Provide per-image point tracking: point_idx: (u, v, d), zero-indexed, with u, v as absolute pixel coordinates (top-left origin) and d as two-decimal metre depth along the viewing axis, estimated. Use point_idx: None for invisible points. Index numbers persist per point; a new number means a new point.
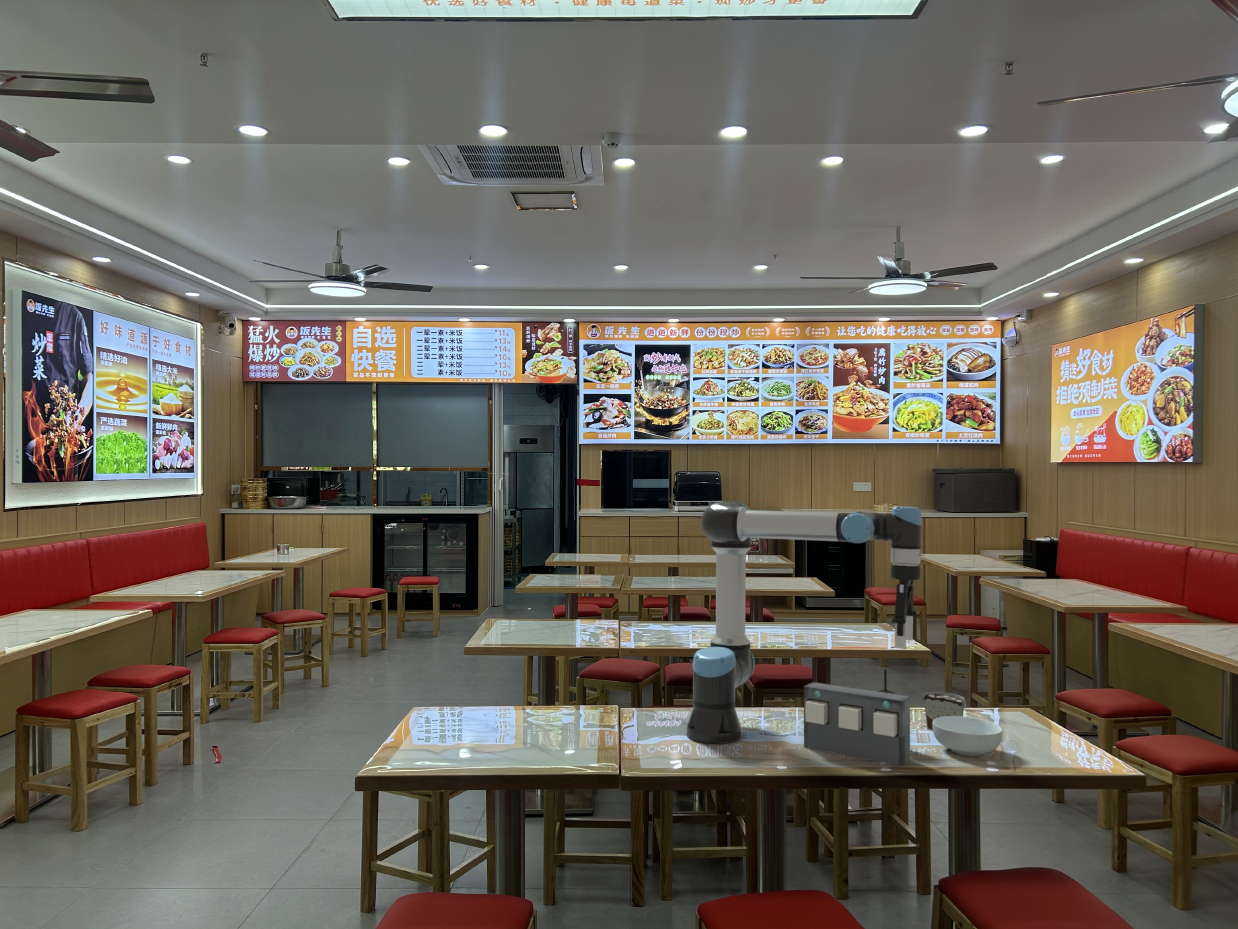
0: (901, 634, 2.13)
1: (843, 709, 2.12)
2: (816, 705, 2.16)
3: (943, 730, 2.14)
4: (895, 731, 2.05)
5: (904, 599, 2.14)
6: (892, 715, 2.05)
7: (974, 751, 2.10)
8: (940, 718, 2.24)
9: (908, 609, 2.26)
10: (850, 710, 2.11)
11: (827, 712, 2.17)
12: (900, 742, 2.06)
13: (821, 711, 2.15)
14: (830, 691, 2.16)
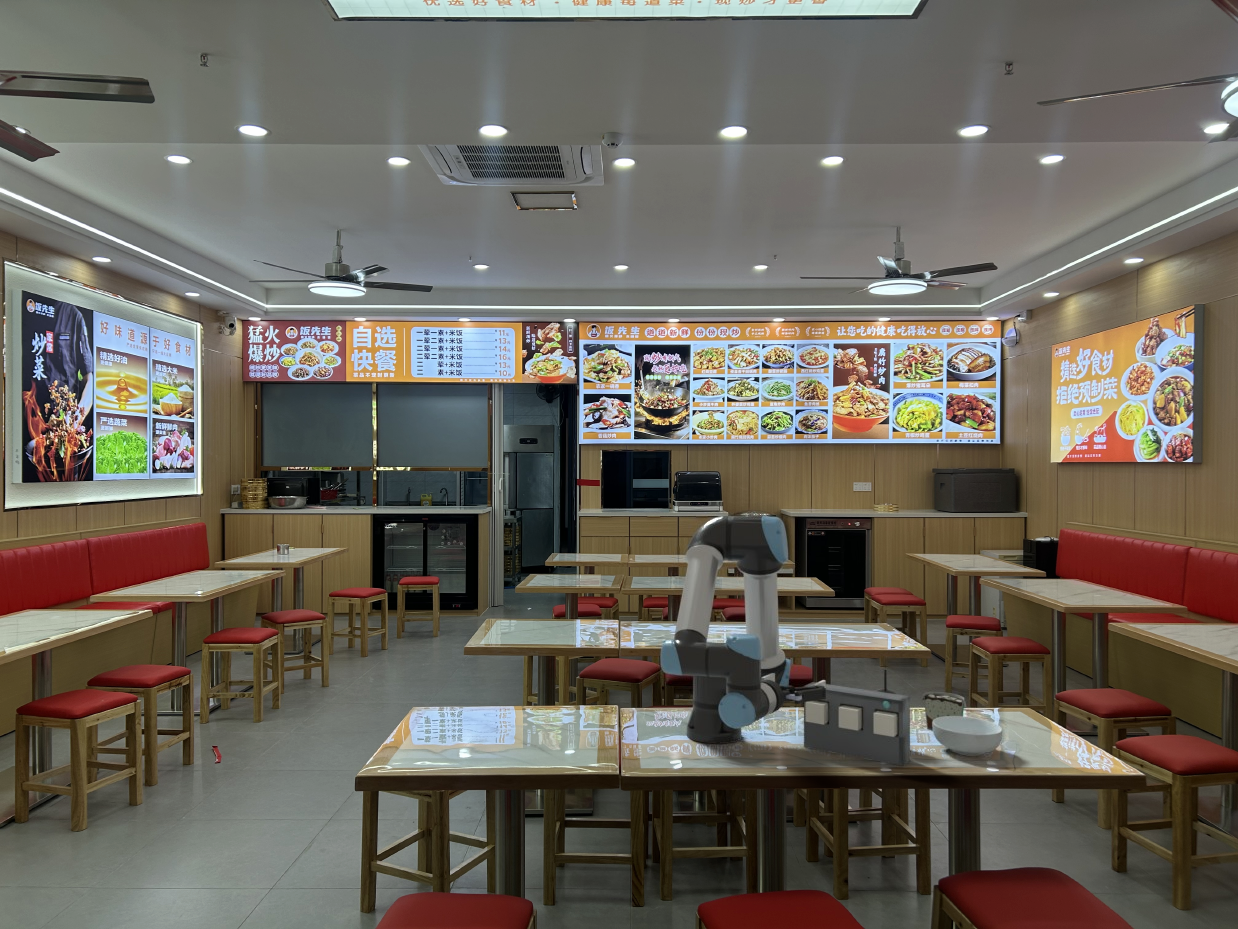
0: None
1: (843, 709, 2.12)
2: (816, 705, 2.16)
3: (943, 730, 2.14)
4: (895, 731, 2.05)
5: None
6: (892, 715, 2.05)
7: (974, 751, 2.10)
8: (940, 718, 2.24)
9: None
10: (850, 710, 2.11)
11: (827, 712, 2.17)
12: (900, 742, 2.06)
13: (821, 711, 2.15)
14: (830, 691, 2.16)
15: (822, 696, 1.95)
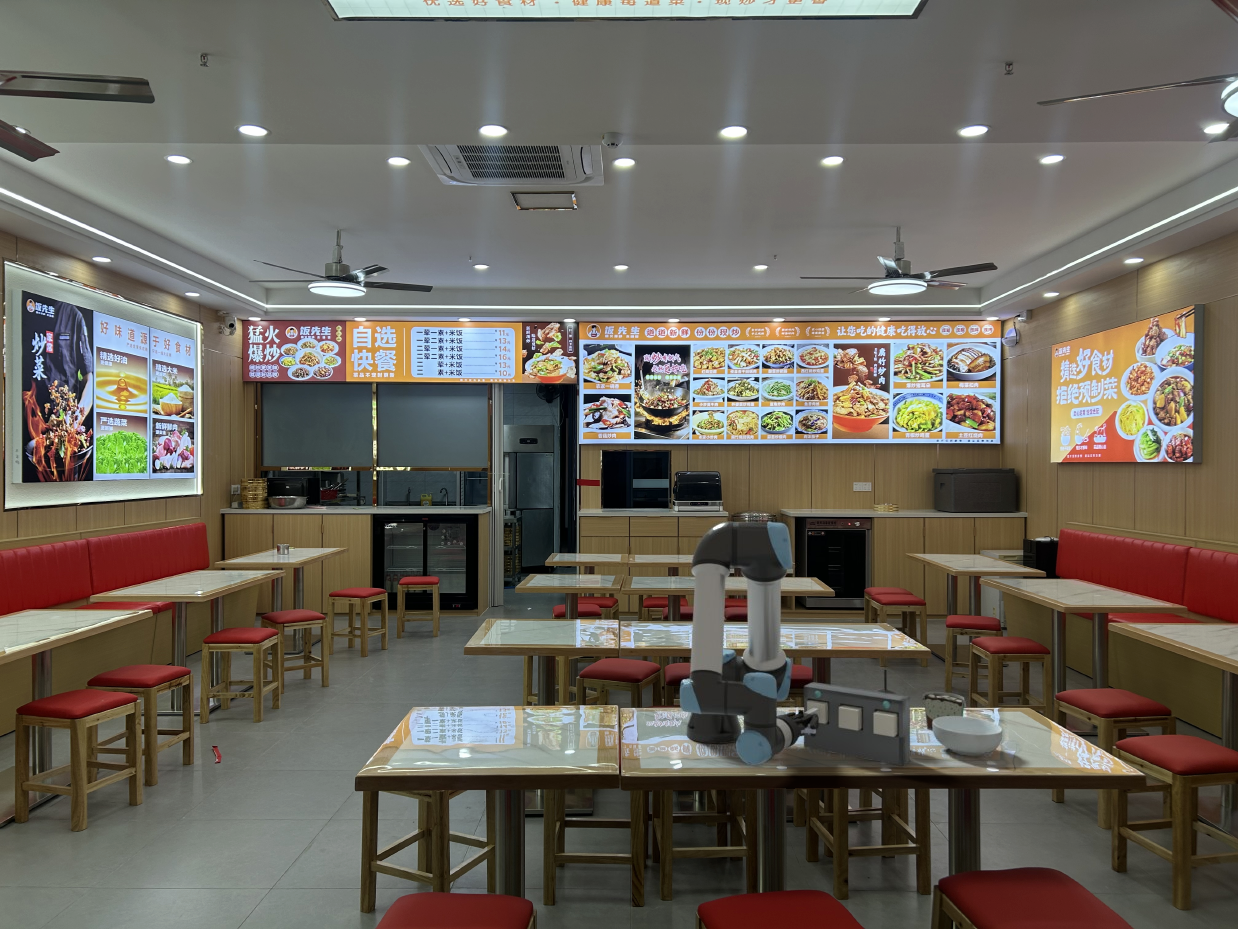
0: None
1: (843, 709, 2.12)
2: (818, 704, 2.17)
3: (943, 730, 2.14)
4: (895, 731, 2.05)
5: None
6: (892, 715, 2.05)
7: (974, 751, 2.10)
8: (940, 718, 2.24)
9: None
10: (850, 710, 2.11)
11: (828, 711, 2.17)
12: (900, 742, 2.06)
13: (823, 710, 2.16)
14: (830, 691, 2.16)
15: (818, 724, 2.07)
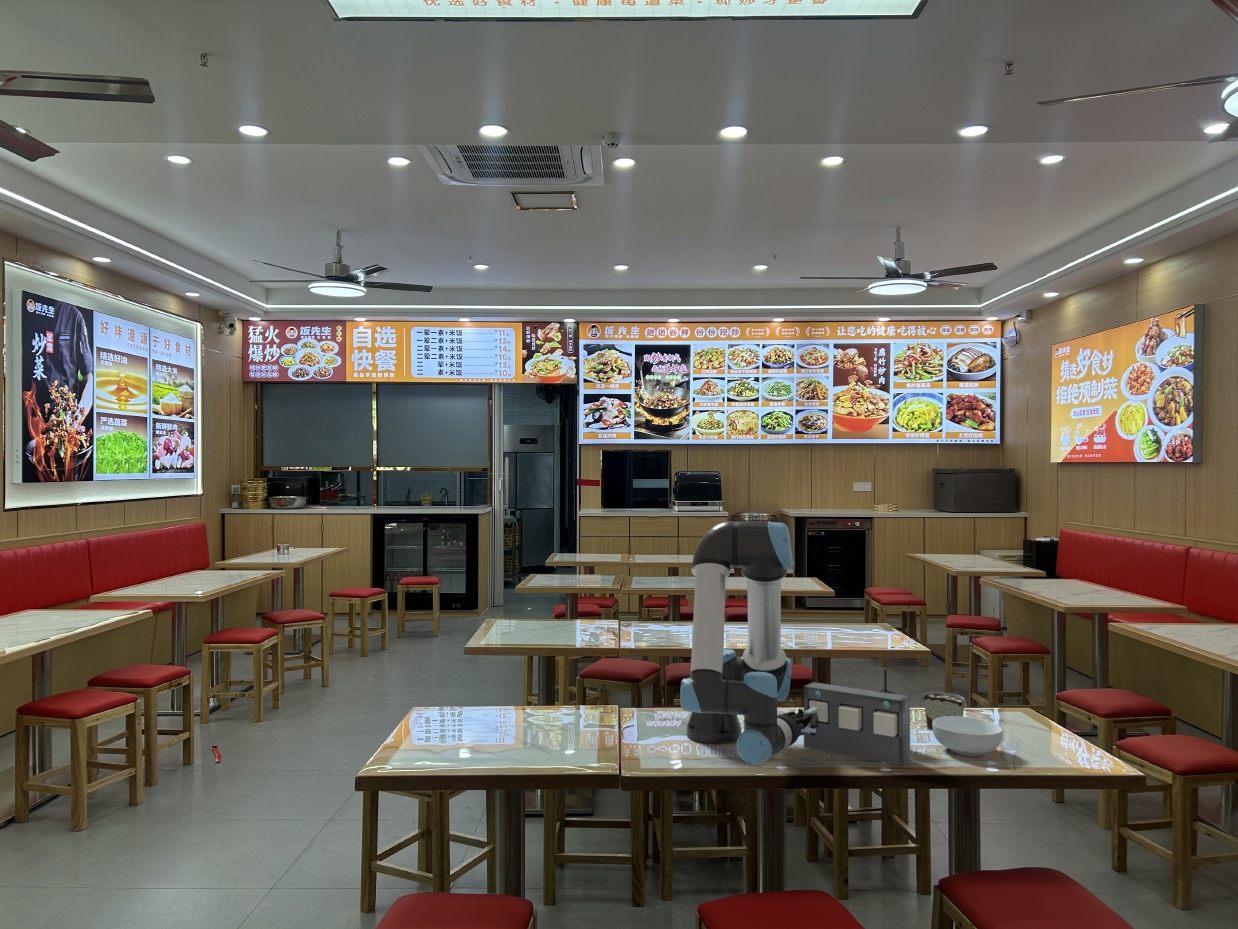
0: None
1: (843, 709, 2.12)
2: (820, 703, 2.18)
3: (943, 730, 2.14)
4: (895, 731, 2.05)
5: None
6: (892, 715, 2.05)
7: (974, 751, 2.10)
8: (940, 718, 2.24)
9: None
10: (850, 710, 2.11)
11: None
12: (900, 742, 2.06)
13: (825, 709, 2.17)
14: (830, 691, 2.16)
15: (817, 723, 2.07)
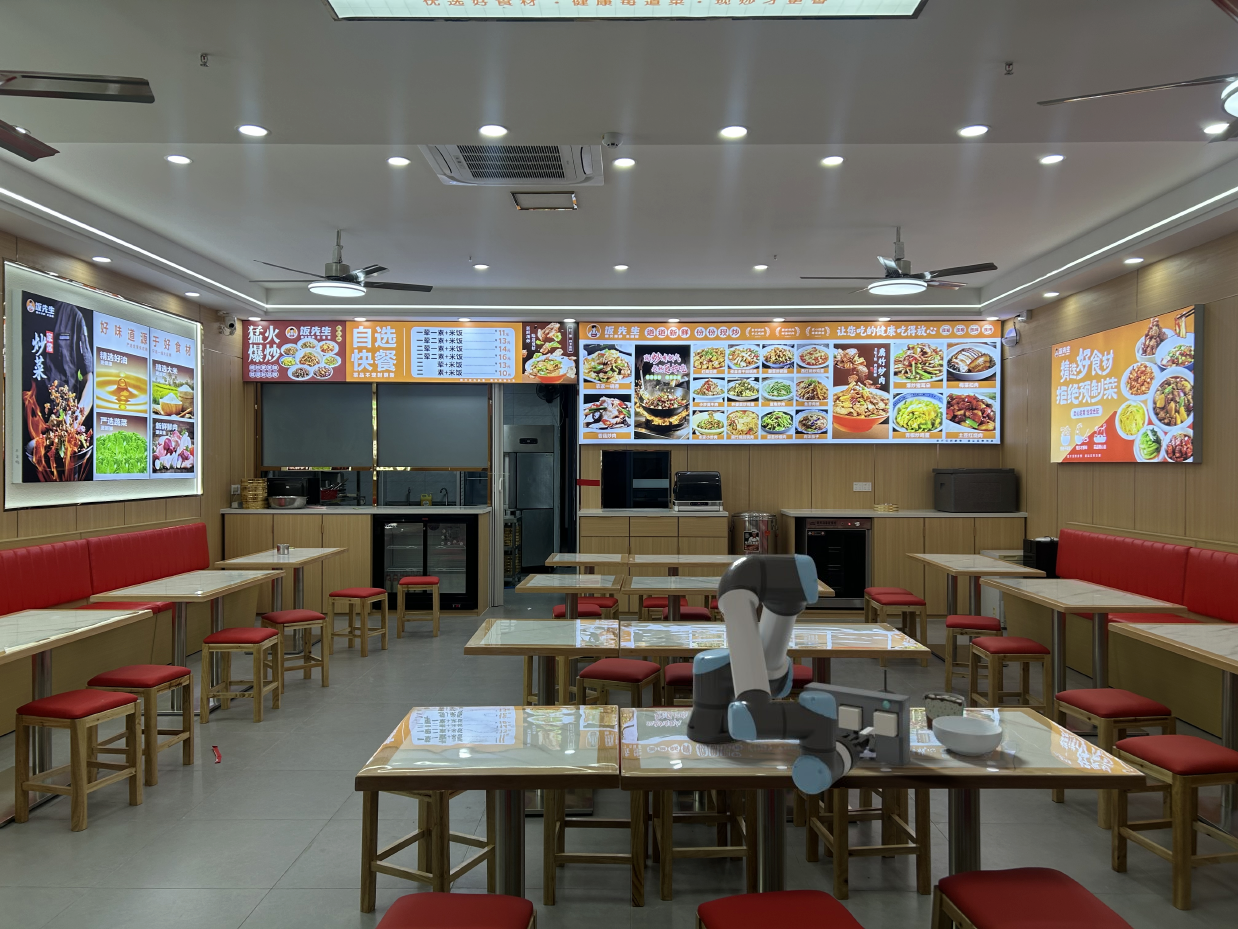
0: None
1: (843, 709, 2.12)
2: None
3: (943, 730, 2.14)
4: (895, 731, 2.05)
5: None
6: (892, 715, 2.05)
7: (974, 751, 2.10)
8: (940, 718, 2.24)
9: None
10: (850, 710, 2.11)
11: None
12: (900, 742, 2.06)
13: None
14: (830, 691, 2.16)
15: None
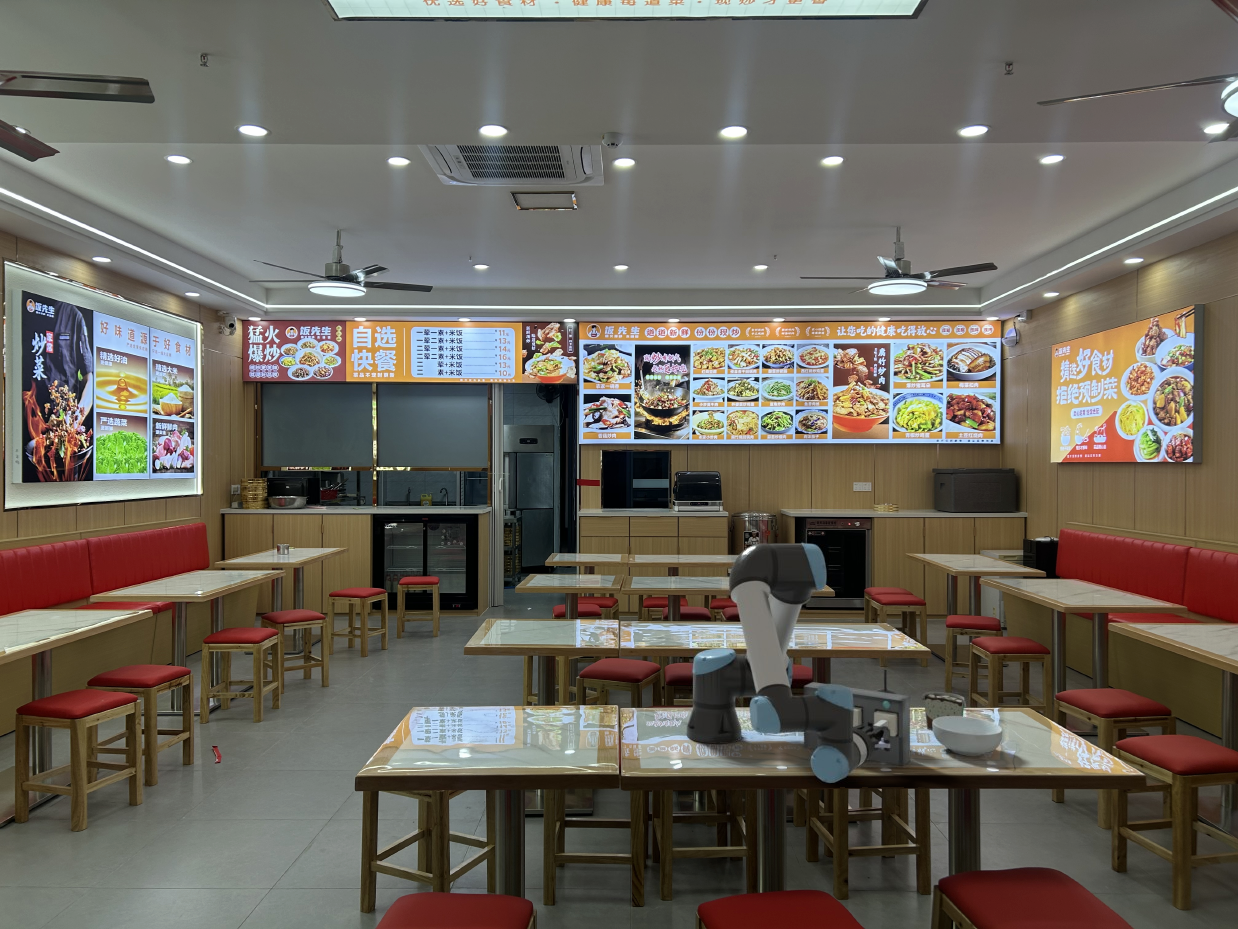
0: None
1: None
2: None
3: (943, 730, 2.14)
4: (895, 731, 2.05)
5: None
6: (893, 715, 2.06)
7: (974, 751, 2.10)
8: (940, 718, 2.24)
9: None
10: None
11: None
12: (900, 742, 2.06)
13: None
14: None
15: None
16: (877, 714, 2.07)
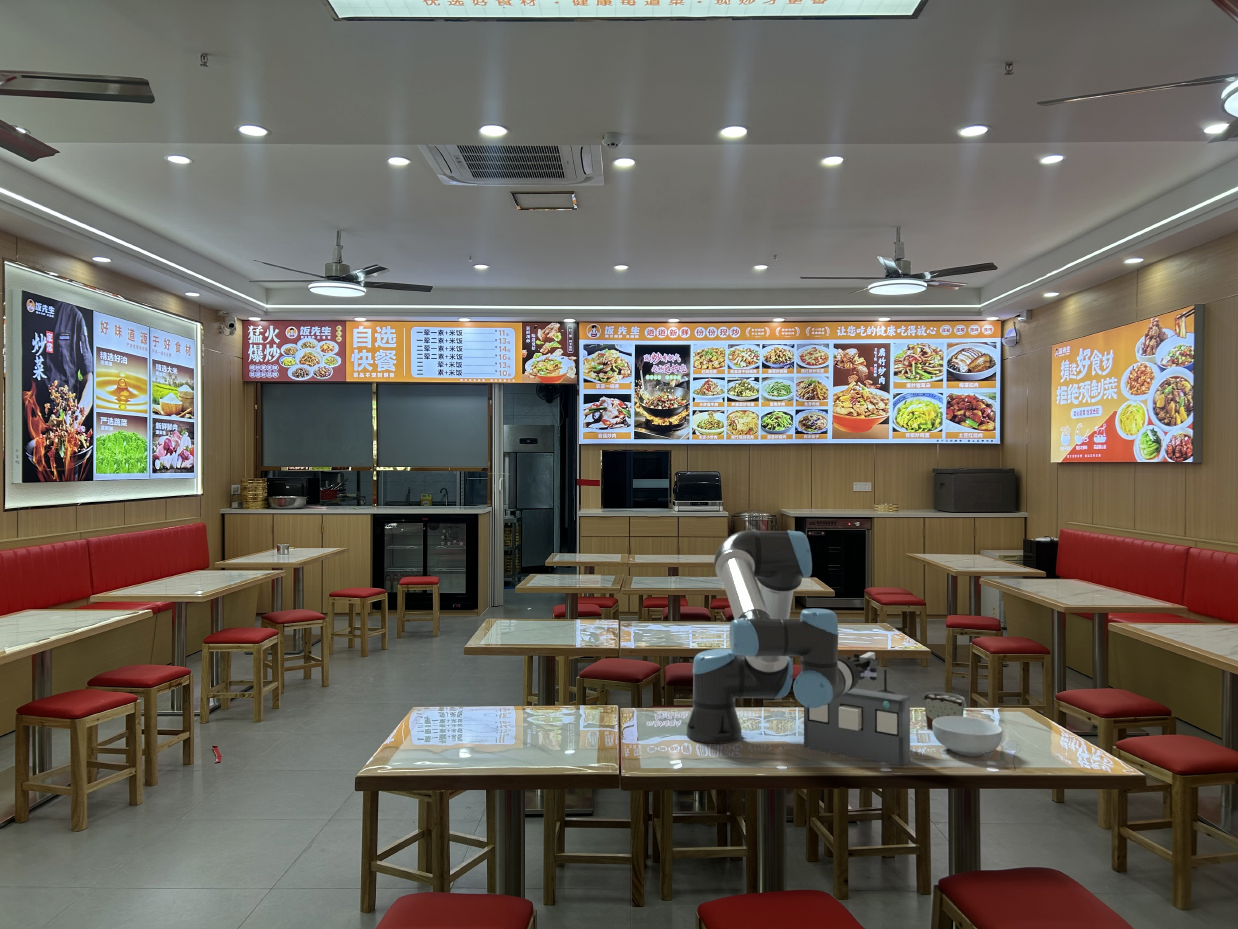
0: None
1: (843, 709, 2.12)
2: None
3: (943, 730, 2.14)
4: (898, 729, 2.07)
5: None
6: (895, 713, 2.07)
7: (974, 751, 2.10)
8: (940, 718, 2.24)
9: None
10: (850, 710, 2.11)
11: None
12: (900, 742, 2.06)
13: (825, 709, 2.17)
14: None
15: (876, 668, 1.90)
16: (880, 712, 2.09)
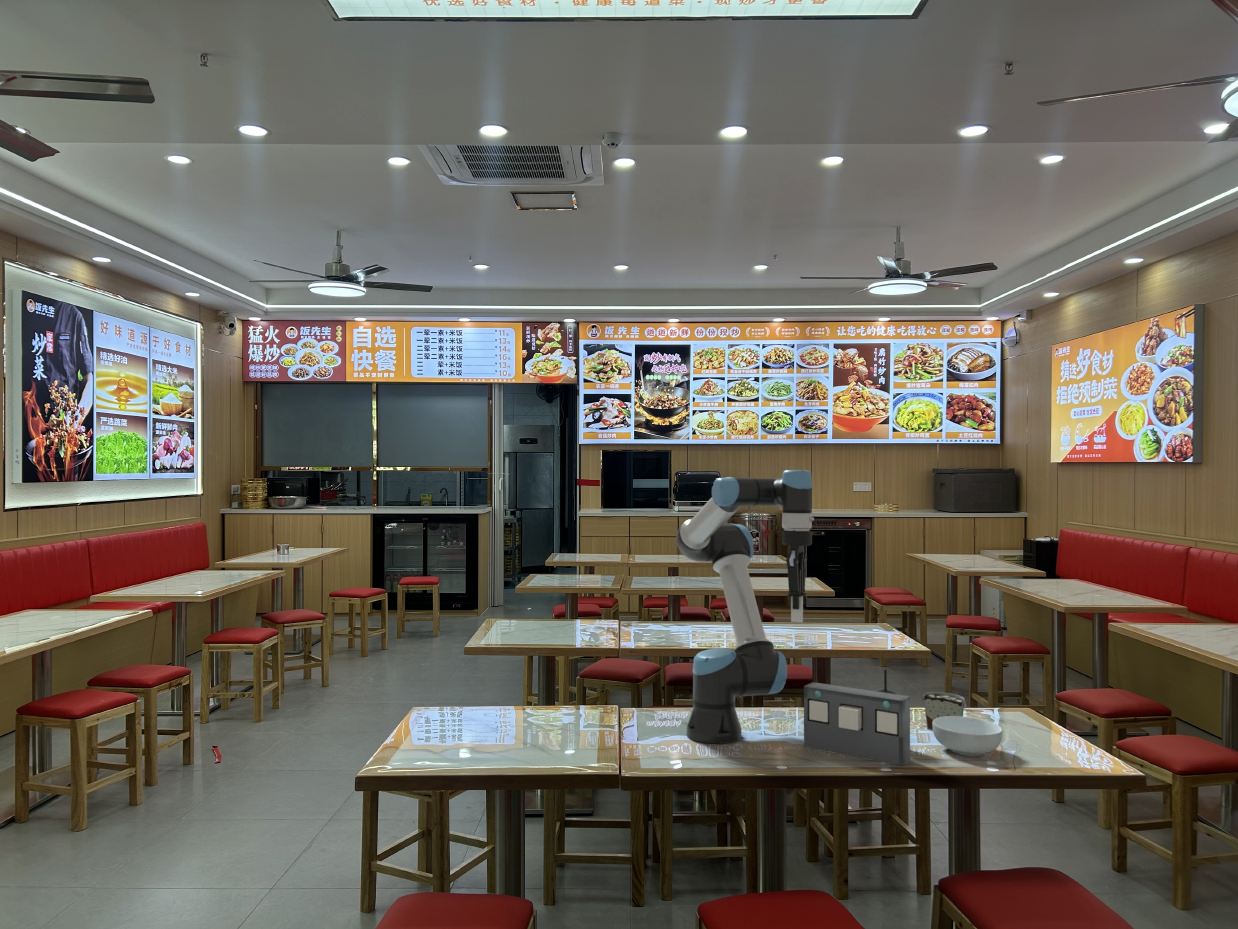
0: (796, 607, 2.11)
1: (843, 709, 2.12)
2: (820, 703, 2.18)
3: (943, 730, 2.14)
4: (898, 729, 2.07)
5: (795, 573, 2.08)
6: (895, 713, 2.07)
7: (974, 751, 2.10)
8: (940, 718, 2.24)
9: None
10: (850, 710, 2.11)
11: None
12: (900, 742, 2.06)
13: (825, 709, 2.17)
14: (830, 691, 2.16)
15: None
16: (880, 712, 2.09)
